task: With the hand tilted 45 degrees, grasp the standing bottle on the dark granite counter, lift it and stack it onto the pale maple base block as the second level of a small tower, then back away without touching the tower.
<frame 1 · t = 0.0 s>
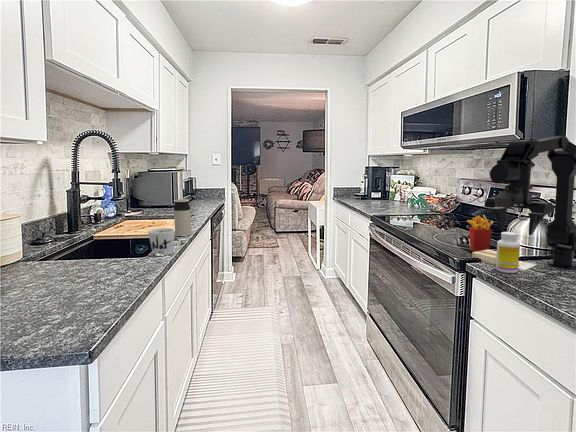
hand: (515, 232, 124), 15 cm above the counter, tool pointing down, fingers open, 9 cm apart
instruction sheet: (519, 265, 141), on the counter
french fries: (476, 252, 161), on the counter
mug: (163, 253, 167), on the counter
base block: (490, 259, 149), on the counter
travel mug: (183, 235, 203), on the counter
supplement bottle: (506, 271, 135), on the counter
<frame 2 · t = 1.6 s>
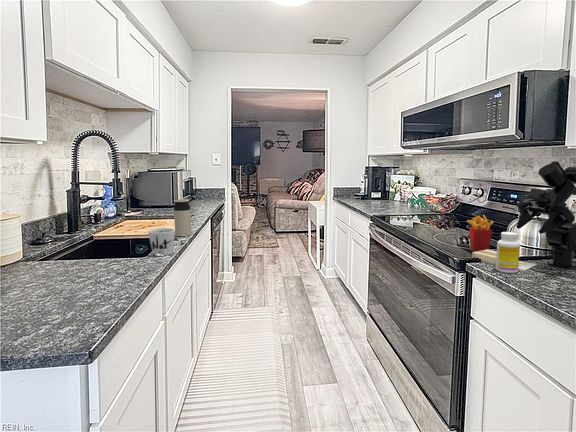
hand: (528, 230, 135), 13 cm above the counter, tool tilted 45°, fingers open, 9 cm apart
nothing on the counter moved.
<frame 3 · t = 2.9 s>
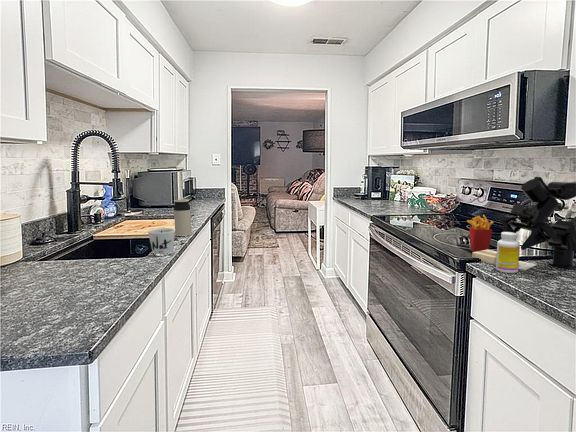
hand: (510, 245, 134), 8 cm above the counter, tool tilted 45°, fingers open, 9 cm apart
nothing on the counter moved.
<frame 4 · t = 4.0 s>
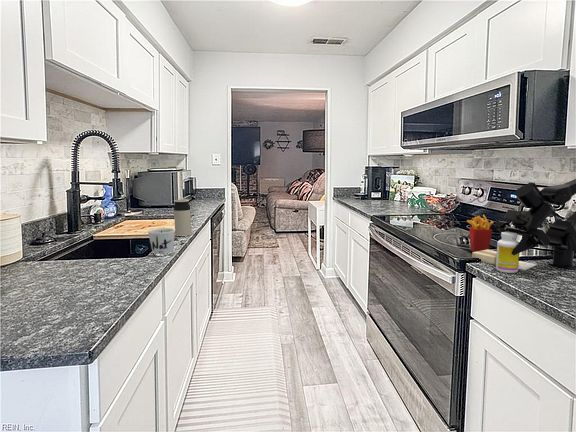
hand: (504, 251, 134), 7 cm above the counter, tool tilted 45°, fingers closed on supplement bottle, 7 cm apart
supplement bottle: (506, 271, 135), on the counter, touching gripper
everything else where it was.
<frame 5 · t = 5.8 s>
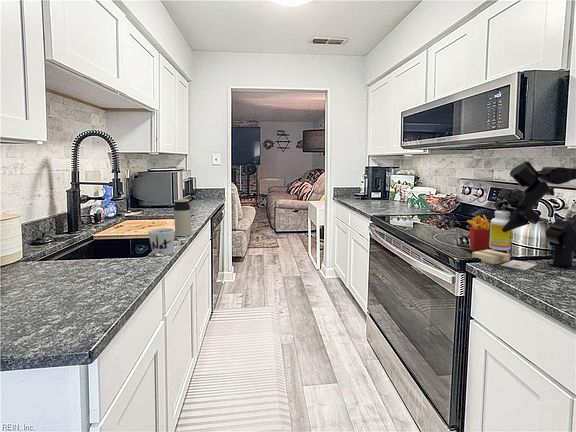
hand: (497, 229, 137), 13 cm above the counter, tool tilted 45°, fingers closed on supplement bottle, 7 cm apart
supplement bottle: (499, 249, 139), point 6 cm above the counter, touching gripper
everything else where it was.
when the fingers open (10 cm above the counter, at t = 7.8 s): supplement bottle stays where it is, resting on base block.
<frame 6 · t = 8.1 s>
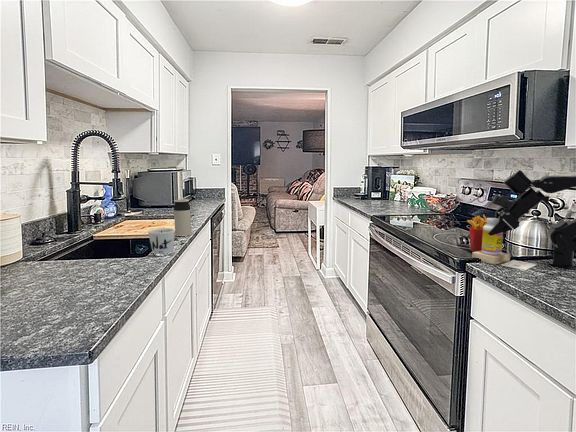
hand: (488, 232, 148), 10 cm above the counter, tool tilted 45°, fingers open, 9 cm apart
supplement bottle: (491, 253, 148), point 2 cm above the counter, touching base block
everything else where it was.
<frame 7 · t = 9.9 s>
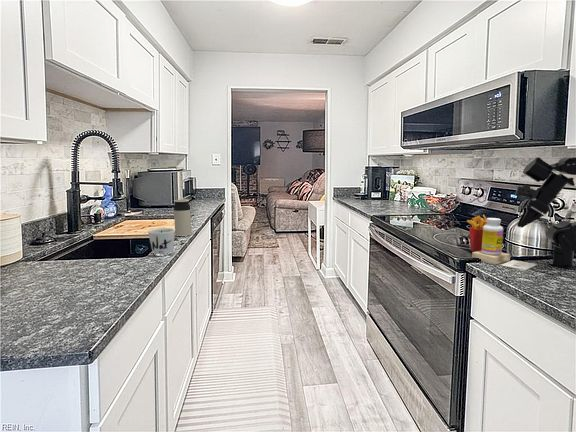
hand: (519, 226, 141), 13 cm above the counter, tool tilted 35°, fingers open, 9 cm apart
nothing on the counter moved.
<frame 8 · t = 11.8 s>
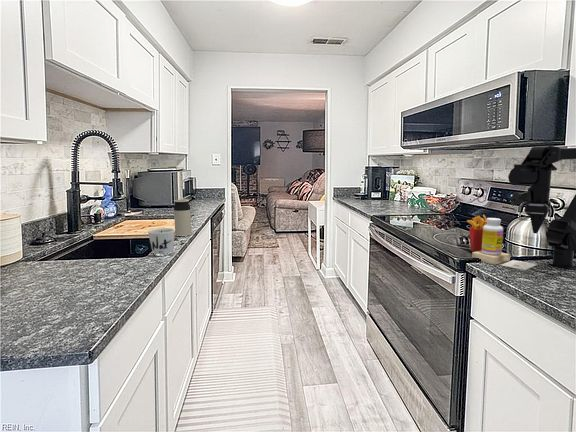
hand: (536, 231, 135), 13 cm above the counter, tool pointing down, fingers open, 9 cm apart
nothing on the counter moved.
at the end: supplement bottle inside the target area on the base block (0.2 cm from its centre), point 2.3 cm above the base block's base; supplement bottle tilted 0°; the gripper is holding nothing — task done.
